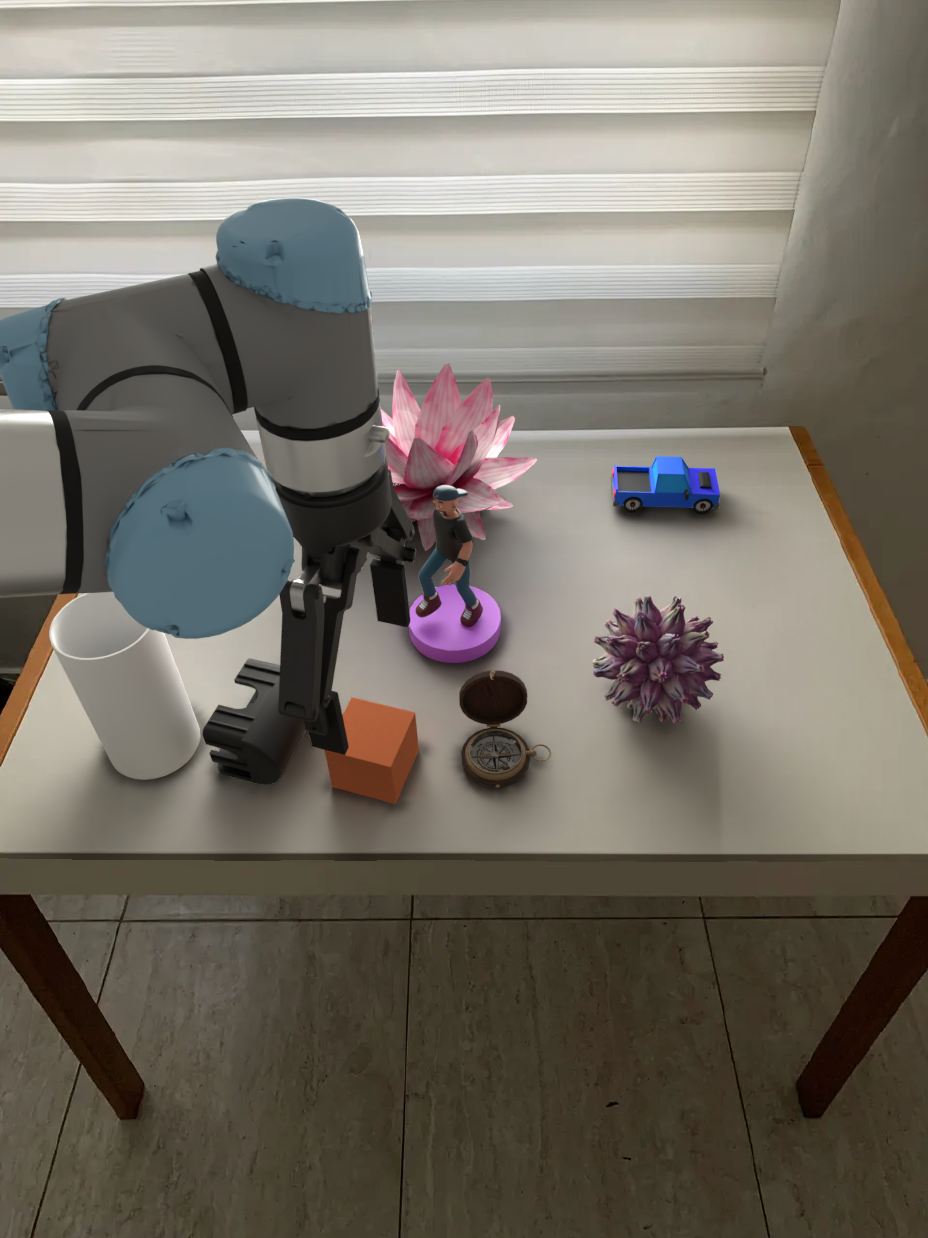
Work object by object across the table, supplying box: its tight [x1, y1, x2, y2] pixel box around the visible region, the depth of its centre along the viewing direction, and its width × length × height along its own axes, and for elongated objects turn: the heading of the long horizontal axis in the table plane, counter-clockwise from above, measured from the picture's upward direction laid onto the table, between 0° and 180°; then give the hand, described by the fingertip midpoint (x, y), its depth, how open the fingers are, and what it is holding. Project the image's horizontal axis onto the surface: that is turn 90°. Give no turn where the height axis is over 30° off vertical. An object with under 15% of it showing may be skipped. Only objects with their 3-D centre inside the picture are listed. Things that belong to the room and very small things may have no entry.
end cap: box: [202, 657, 307, 786], centre depth 81 cm, size 10×7×7 cm
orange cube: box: [323, 697, 420, 805], centre depth 79 cm, size 6×6×6 cm
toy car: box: [610, 455, 721, 515], centre depth 105 cm, size 7×12×5 cm, turn 86°
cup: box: [48, 592, 201, 781], centre depth 78 cm, size 8×8×16 cm
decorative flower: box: [381, 363, 538, 552], centre depth 101 cm, size 21×21×15 cm
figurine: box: [408, 485, 502, 664], centre depth 87 cm, size 9×9×18 cm
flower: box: [592, 595, 725, 724], centre depth 82 cm, size 12×12×12 cm
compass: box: [458, 669, 552, 789], centre depth 80 cm, size 8×8×7 cm
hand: (364, 680), depth 73 cm, fingers open, 13 cm apart
